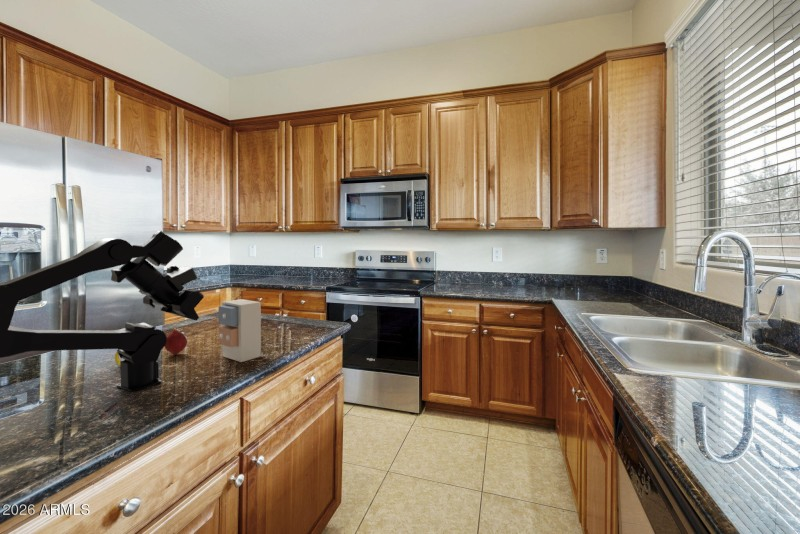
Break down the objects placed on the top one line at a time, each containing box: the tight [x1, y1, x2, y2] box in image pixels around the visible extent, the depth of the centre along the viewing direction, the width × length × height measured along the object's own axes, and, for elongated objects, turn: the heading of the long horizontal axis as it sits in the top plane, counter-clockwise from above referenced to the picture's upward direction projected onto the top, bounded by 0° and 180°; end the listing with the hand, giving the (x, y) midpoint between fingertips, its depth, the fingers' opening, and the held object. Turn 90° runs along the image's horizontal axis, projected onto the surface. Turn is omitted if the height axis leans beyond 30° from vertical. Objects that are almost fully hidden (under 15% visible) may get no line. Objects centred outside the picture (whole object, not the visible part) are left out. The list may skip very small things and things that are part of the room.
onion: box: [164, 327, 188, 356], centre depth 108 cm, size 6×6×8 cm
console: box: [221, 298, 262, 363], centre depth 108 cm, size 6×9×16 cm
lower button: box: [218, 325, 239, 347], centre depth 104 cm, size 3×6×5 cm, turn 59°
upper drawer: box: [218, 305, 238, 326], centre depth 104 cm, size 3×6×5 cm, turn 59°
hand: (196, 318), depth 96 cm, fingers closed
